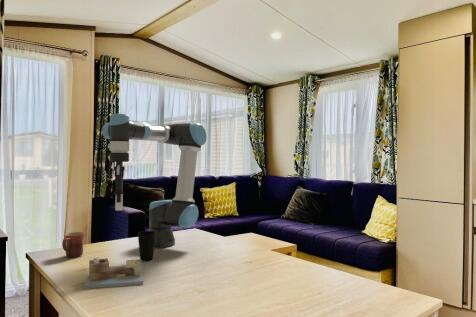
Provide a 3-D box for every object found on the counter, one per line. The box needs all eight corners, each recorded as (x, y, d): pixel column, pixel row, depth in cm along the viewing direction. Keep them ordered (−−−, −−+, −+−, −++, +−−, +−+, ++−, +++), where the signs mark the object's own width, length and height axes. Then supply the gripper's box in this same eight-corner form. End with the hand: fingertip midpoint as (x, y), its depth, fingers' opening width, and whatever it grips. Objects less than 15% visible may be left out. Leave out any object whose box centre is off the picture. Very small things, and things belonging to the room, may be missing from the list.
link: (131, 270, 141) (131, 255, 140) (134, 275, 135) (134, 260, 135) (89, 276, 134) (89, 260, 134) (90, 281, 128) (90, 264, 128)
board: (143, 266, 150) (143, 264, 150) (143, 284, 129) (143, 281, 129) (92, 270, 145) (92, 267, 145) (83, 288, 124) (83, 285, 124)
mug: (72, 252, 170) (72, 231, 170) (88, 254, 168) (88, 232, 168) (54, 260, 158) (54, 236, 158) (72, 261, 156) (72, 238, 156)
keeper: (140, 270, 141) (141, 259, 141) (140, 277, 133) (140, 265, 133) (118, 272, 139) (118, 260, 139) (116, 278, 131) (116, 266, 131)
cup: (157, 257, 164) (157, 231, 164) (151, 262, 156) (152, 234, 156) (141, 256, 165) (141, 230, 165) (134, 261, 157) (135, 234, 157)
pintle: (99, 276, 134) (99, 257, 134) (98, 278, 132) (99, 259, 132) (93, 276, 134) (93, 257, 134) (92, 278, 131) (92, 259, 131)
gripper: (111, 152, 150) (110, 208, 150) (107, 151, 138) (107, 212, 138) (129, 152, 152) (129, 207, 152) (128, 152, 140) (127, 212, 140)
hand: (118, 210), depth 145 cm, fingers closed
